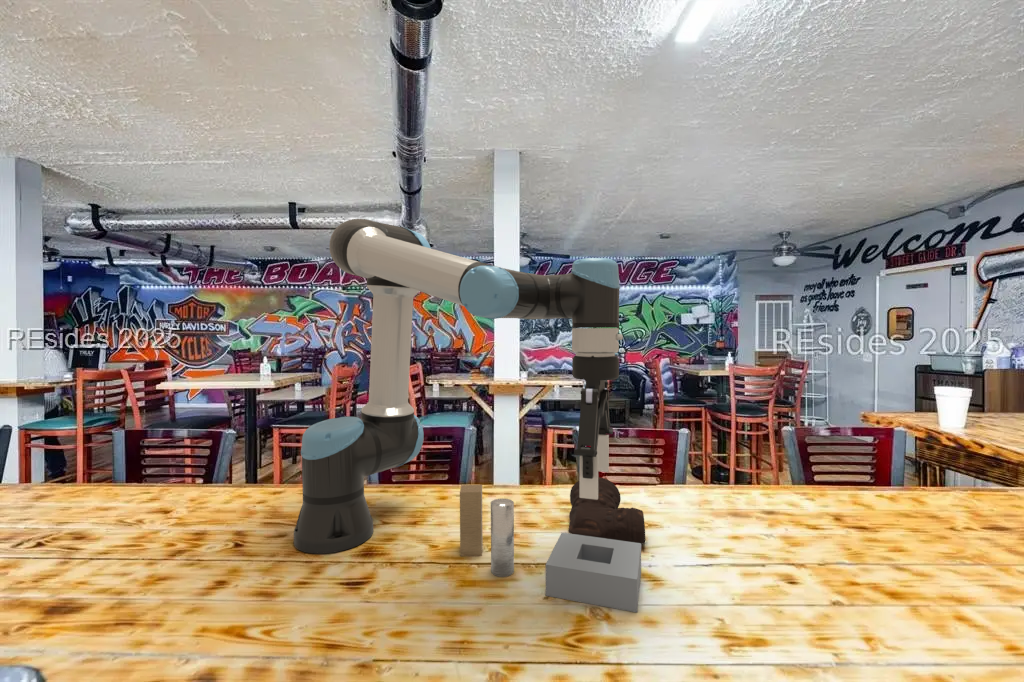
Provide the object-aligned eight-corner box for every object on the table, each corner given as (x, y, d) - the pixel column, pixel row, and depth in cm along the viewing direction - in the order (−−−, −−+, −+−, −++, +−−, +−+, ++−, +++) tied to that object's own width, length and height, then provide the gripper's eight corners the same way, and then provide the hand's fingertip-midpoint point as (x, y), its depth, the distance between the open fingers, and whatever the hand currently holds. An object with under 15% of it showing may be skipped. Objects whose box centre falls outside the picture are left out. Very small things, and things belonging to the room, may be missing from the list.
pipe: (645, 515, 86) (637, 475, 100) (564, 514, 89) (568, 476, 103) (647, 561, 88) (639, 516, 102) (568, 559, 91) (571, 515, 105)
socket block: (545, 595, 73) (545, 564, 73) (561, 559, 85) (561, 532, 84) (637, 612, 69) (637, 579, 69) (641, 571, 80) (641, 543, 80)
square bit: (460, 556, 86) (459, 492, 86) (461, 545, 90) (461, 484, 90) (481, 555, 86) (481, 491, 86) (482, 545, 90) (482, 484, 90)
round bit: (487, 574, 80) (487, 505, 79) (495, 563, 83) (495, 497, 83) (509, 578, 78) (509, 508, 78) (516, 566, 82) (516, 499, 82)
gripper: (610, 360, 63) (609, 515, 63) (625, 350, 86) (624, 463, 87) (555, 359, 65) (556, 508, 66) (585, 350, 89) (585, 460, 89)
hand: (595, 483), depth 76 cm, fingers open, 13 cm apart
